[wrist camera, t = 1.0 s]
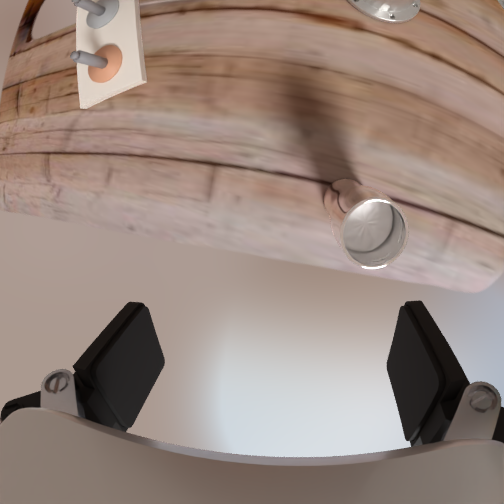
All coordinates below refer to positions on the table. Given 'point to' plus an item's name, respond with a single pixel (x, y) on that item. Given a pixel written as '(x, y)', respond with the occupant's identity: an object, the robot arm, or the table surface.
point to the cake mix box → (503, 1)
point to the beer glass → (366, 223)
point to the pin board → (107, 49)
